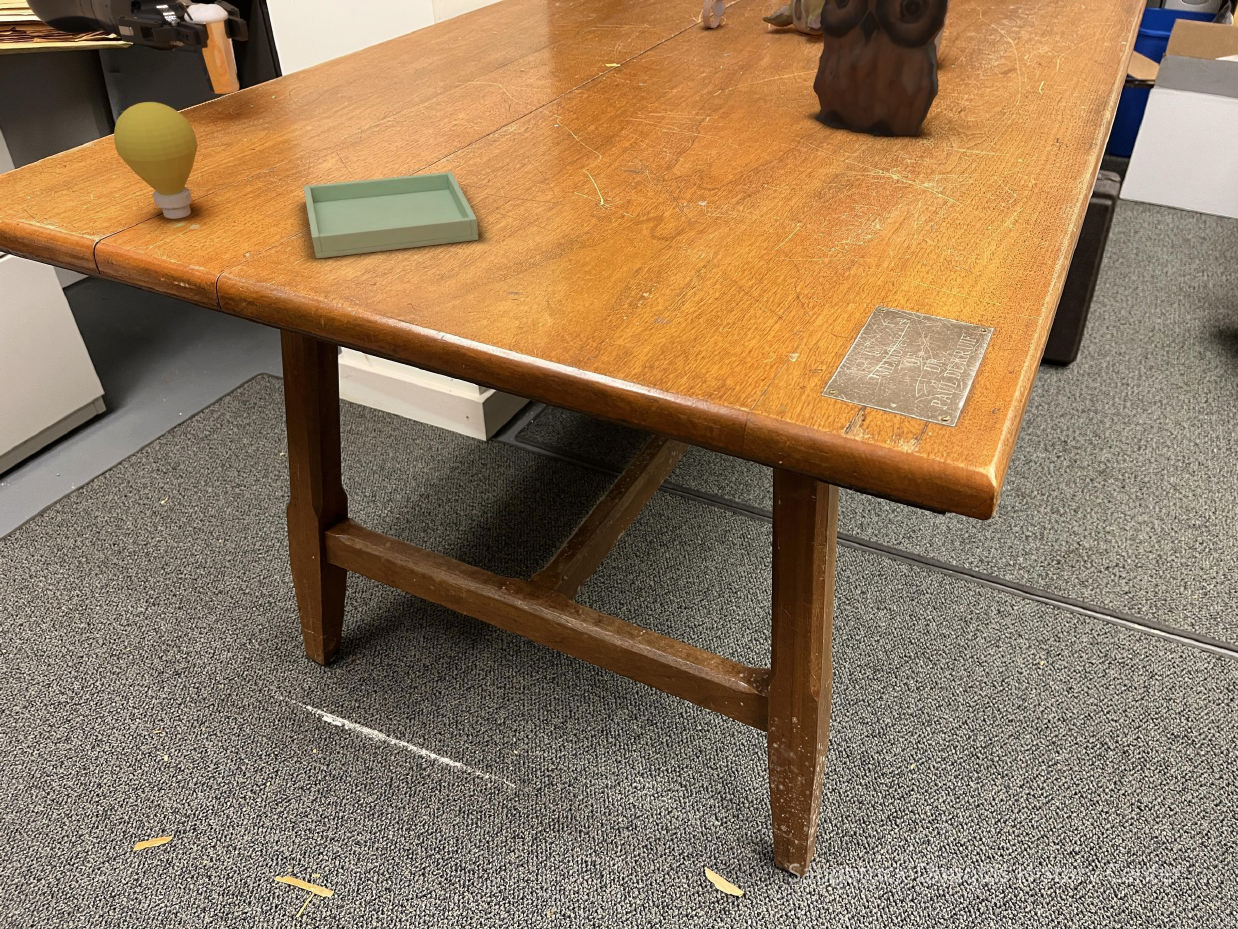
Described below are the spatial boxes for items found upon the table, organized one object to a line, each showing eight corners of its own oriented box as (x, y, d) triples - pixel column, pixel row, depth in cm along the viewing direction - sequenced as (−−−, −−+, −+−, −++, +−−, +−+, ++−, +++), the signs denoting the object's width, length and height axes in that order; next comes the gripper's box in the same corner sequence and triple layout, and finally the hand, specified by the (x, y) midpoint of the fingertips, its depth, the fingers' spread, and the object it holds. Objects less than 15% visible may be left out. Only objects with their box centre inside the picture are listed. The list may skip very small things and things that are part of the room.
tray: (316, 258, 78) (311, 236, 77) (307, 205, 87) (303, 185, 86) (478, 239, 82) (477, 218, 80) (453, 191, 91) (451, 171, 89)
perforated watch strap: (724, 25, 151) (727, -8, 148) (711, 31, 147) (714, -3, 144) (710, 23, 152) (712, -10, 149) (697, 28, 148) (699, -5, 145)
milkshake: (191, 94, 105) (164, 0, 98) (223, 81, 109) (199, -11, 102) (222, 100, 104) (197, 5, 97) (253, 86, 107) (231, -6, 101)
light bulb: (122, 220, 83) (85, 108, 77) (175, 195, 88) (144, 88, 82) (179, 232, 81) (146, 119, 75) (230, 206, 86) (203, 98, 80)
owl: (931, 138, 107) (976, -55, 94) (828, 141, 105) (860, -55, 93) (892, 106, 116) (927, -73, 104) (797, 108, 115) (822, -73, 103)
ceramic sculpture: (874, -29, 144) (816, -12, 136) (866, 29, 149) (810, 49, 142) (821, -38, 150) (761, -22, 142) (815, 18, 155) (758, 37, 148)
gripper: (70, -17, 102) (155, 6, 94) (186, -32, 111) (272, -12, 103) (92, 54, 107) (174, 82, 99) (201, 34, 116) (284, 58, 108)
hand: (223, 34), depth 101 cm, fingers closed on milkshake, 4 cm apart
